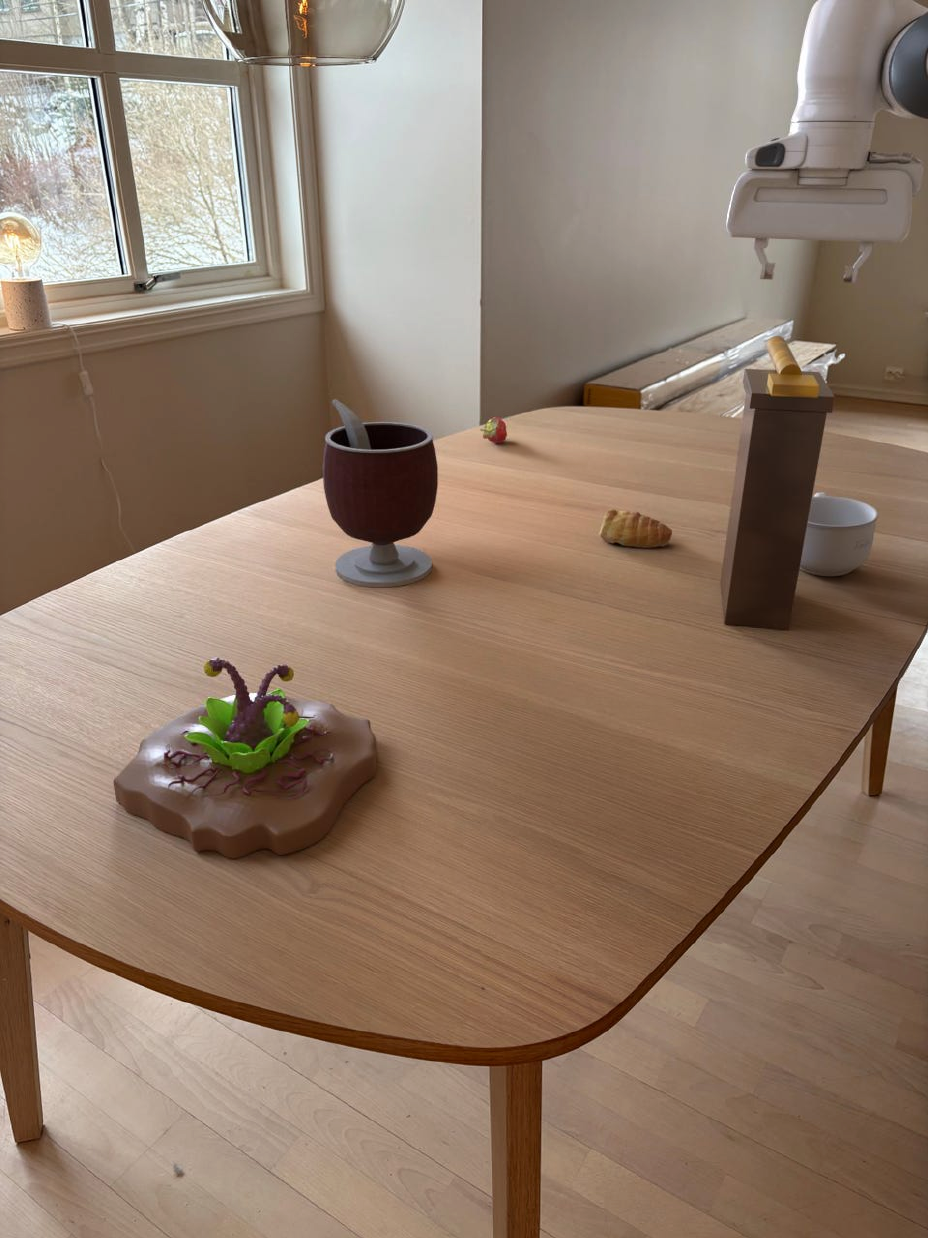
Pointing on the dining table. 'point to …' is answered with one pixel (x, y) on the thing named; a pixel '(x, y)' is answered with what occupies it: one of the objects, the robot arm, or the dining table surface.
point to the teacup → (837, 535)
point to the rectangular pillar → (771, 501)
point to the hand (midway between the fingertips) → (807, 280)
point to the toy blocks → (788, 373)
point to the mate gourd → (380, 496)
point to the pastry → (634, 529)
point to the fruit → (495, 430)
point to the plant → (249, 769)
